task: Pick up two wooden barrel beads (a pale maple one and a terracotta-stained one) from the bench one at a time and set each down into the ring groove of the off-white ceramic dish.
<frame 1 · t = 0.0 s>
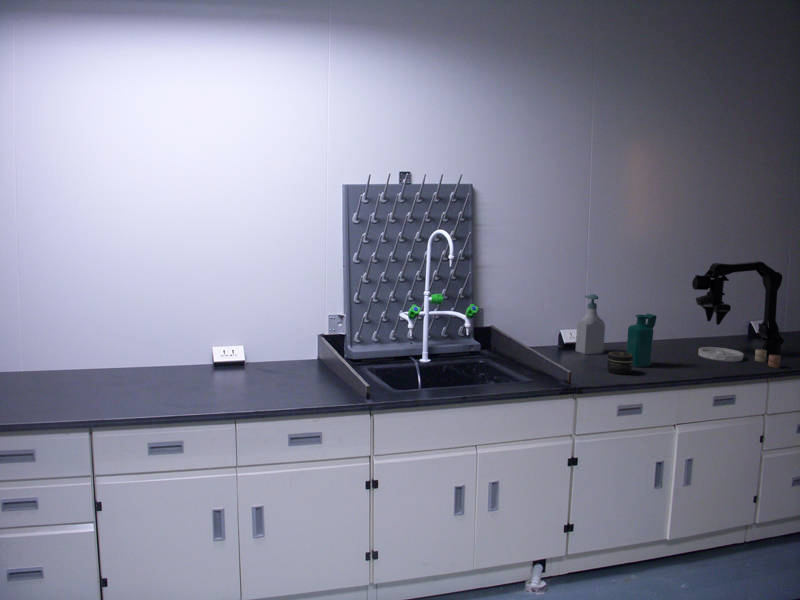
hand: (713, 323, 295), 15 cm above the worktop, fingers open, 9 cm apart
tray: (720, 356, 290), on the worktop
soap bottle: (588, 352, 295), on the worktop
jar: (619, 372, 258), on the worktop
bead maple: (760, 361, 284), on the worktop
pitcher: (639, 365, 272), on the worktop
bead terracotta: (773, 367, 273), on the worktop
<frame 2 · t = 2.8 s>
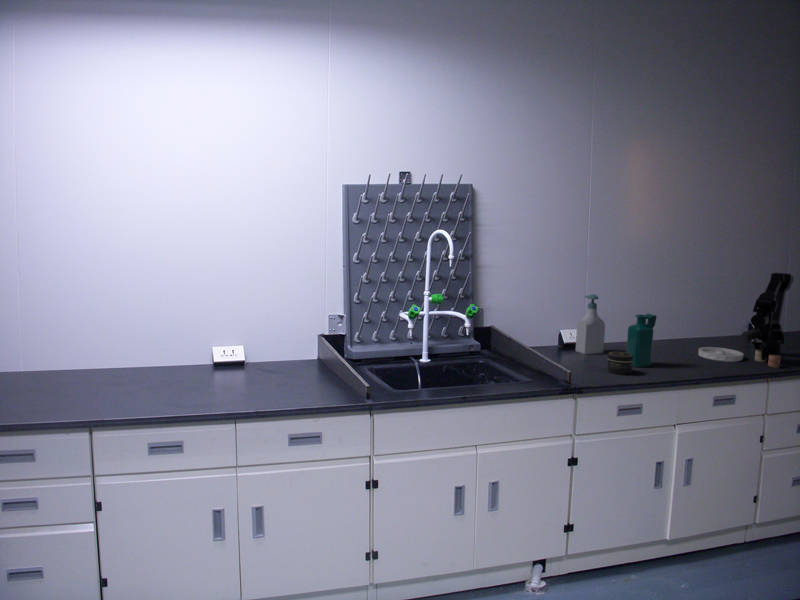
hand: (760, 358, 284), 1 cm above the worktop, fingers closed on bead maple, 4 cm apart
bead maple: (760, 361, 284), on the worktop, touching gripper
everything else where it was.
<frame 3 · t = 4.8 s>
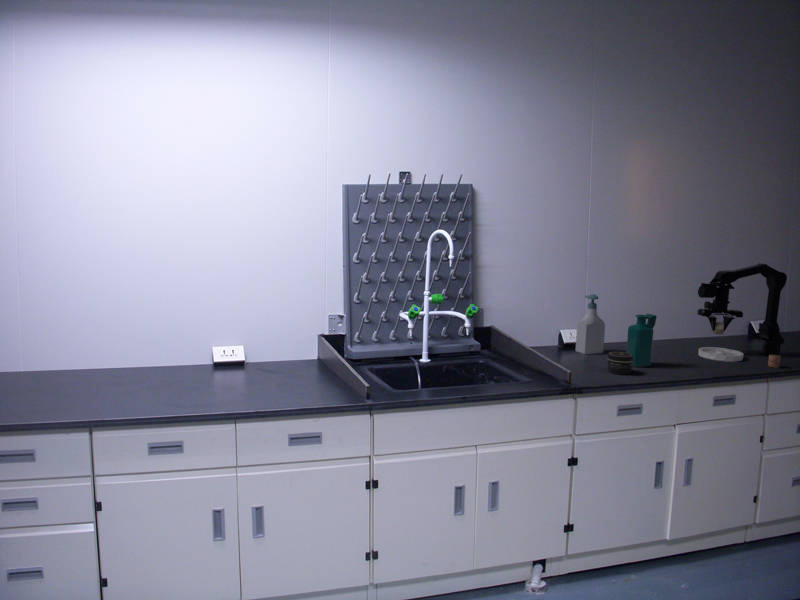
hand: (718, 331, 293), 11 cm above the worktop, fingers closed on bead maple, 4 cm apart
bead maple: (718, 333, 294), point 10 cm above the worktop, touching gripper
everything else where it was.
when the fingers open (3 cm above the worktop, at t = 6.6 s): bead maple drops 1 cm, resting on tray.
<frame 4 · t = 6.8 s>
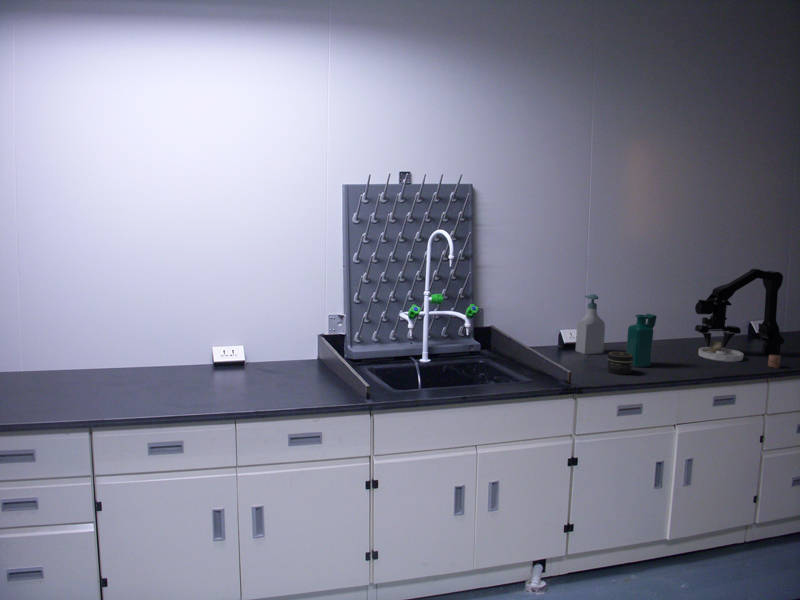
hand: (715, 347, 295), 3 cm above the worktop, fingers open, 7 cm apart
bead maple: (715, 352, 295), point 1 cm above the worktop, touching tray
everything else where it was.
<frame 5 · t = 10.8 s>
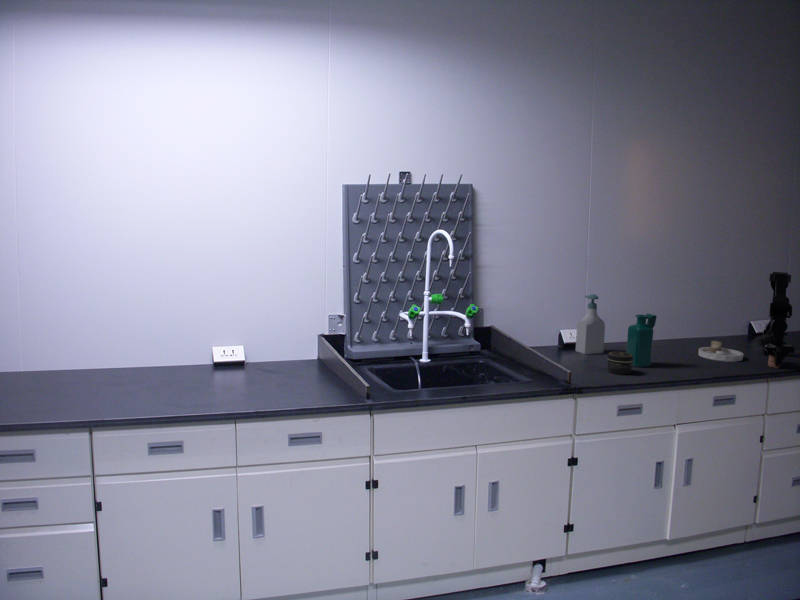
hand: (773, 364, 273), 1 cm above the worktop, fingers closed on bead terracotta, 4 cm apart
bead terracotta: (773, 367, 273), on the worktop, touching gripper
everything else where it was.
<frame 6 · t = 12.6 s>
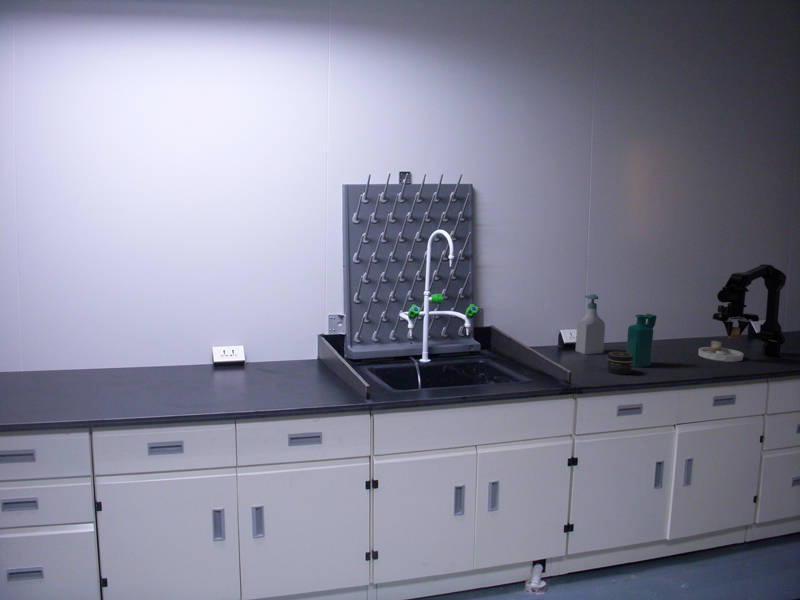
hand: (733, 336, 282), 11 cm above the worktop, fingers closed on bead terracotta, 4 cm apart
bead terracotta: (733, 338, 282), point 10 cm above the worktop, touching gripper
everything else where it was.
when the fingers open (3 cm above the worktop, at t = 14.5 s): bead terracotta drops 1 cm, resting on tray.
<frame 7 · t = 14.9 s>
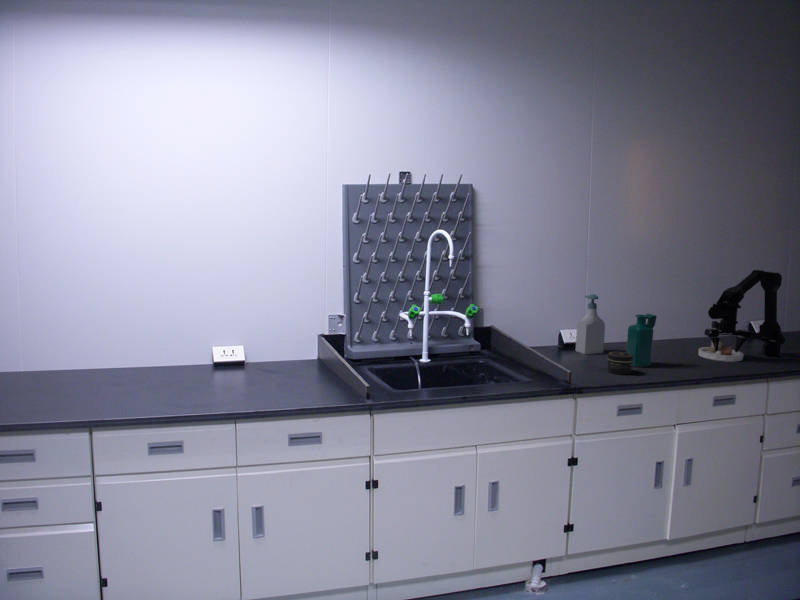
hand: (726, 352, 285), 3 cm above the worktop, fingers open, 9 cm apart
bead terracotta: (725, 356, 285), point 1 cm above the worktop, touching tray
everything else where it was.
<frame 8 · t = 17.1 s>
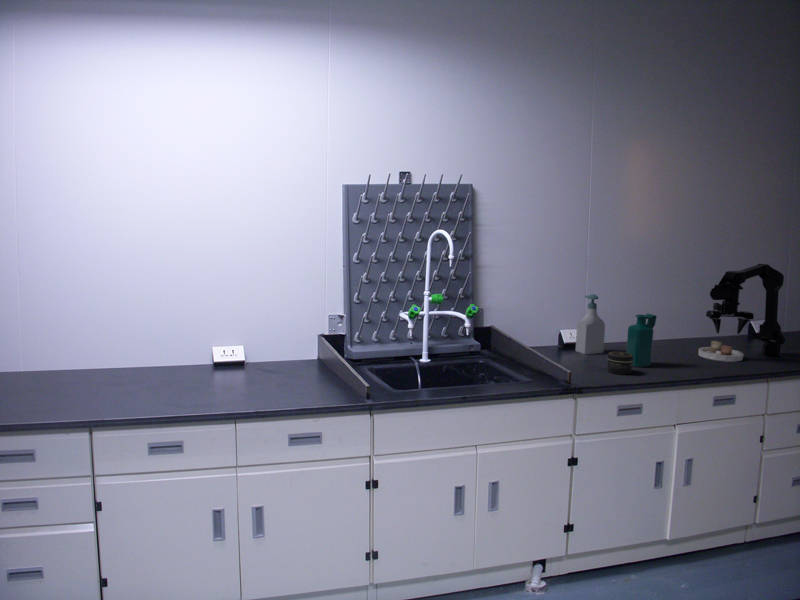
hand: (727, 333, 284), 12 cm above the worktop, fingers open, 9 cm apart
nothing on the worktop moved.
at the end: bead maple inside the target area on the tray (5.0 cm from its centre), point 1.2 cm above the tray's base; bead terracotta inside the target area on the tray (5.0 cm from its centre), point 1.2 cm above the tray's base; the gripper is holding nothing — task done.
